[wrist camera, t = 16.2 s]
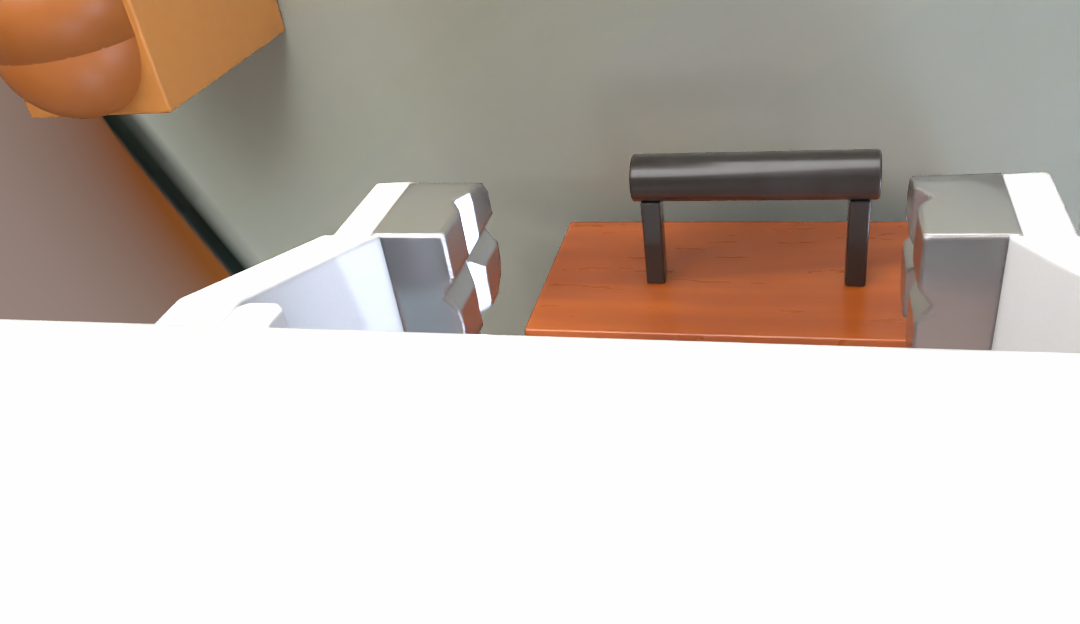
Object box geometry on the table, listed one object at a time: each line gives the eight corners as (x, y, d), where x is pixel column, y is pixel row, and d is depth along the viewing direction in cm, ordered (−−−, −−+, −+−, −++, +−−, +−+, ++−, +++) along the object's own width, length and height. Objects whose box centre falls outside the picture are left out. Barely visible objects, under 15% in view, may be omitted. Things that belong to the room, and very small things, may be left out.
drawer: (555, 109, 32) (501, 204, 26) (988, 94, 28) (1028, 200, 23) (607, 505, 42) (576, 632, 37) (928, 531, 38) (946, 676, 33)
